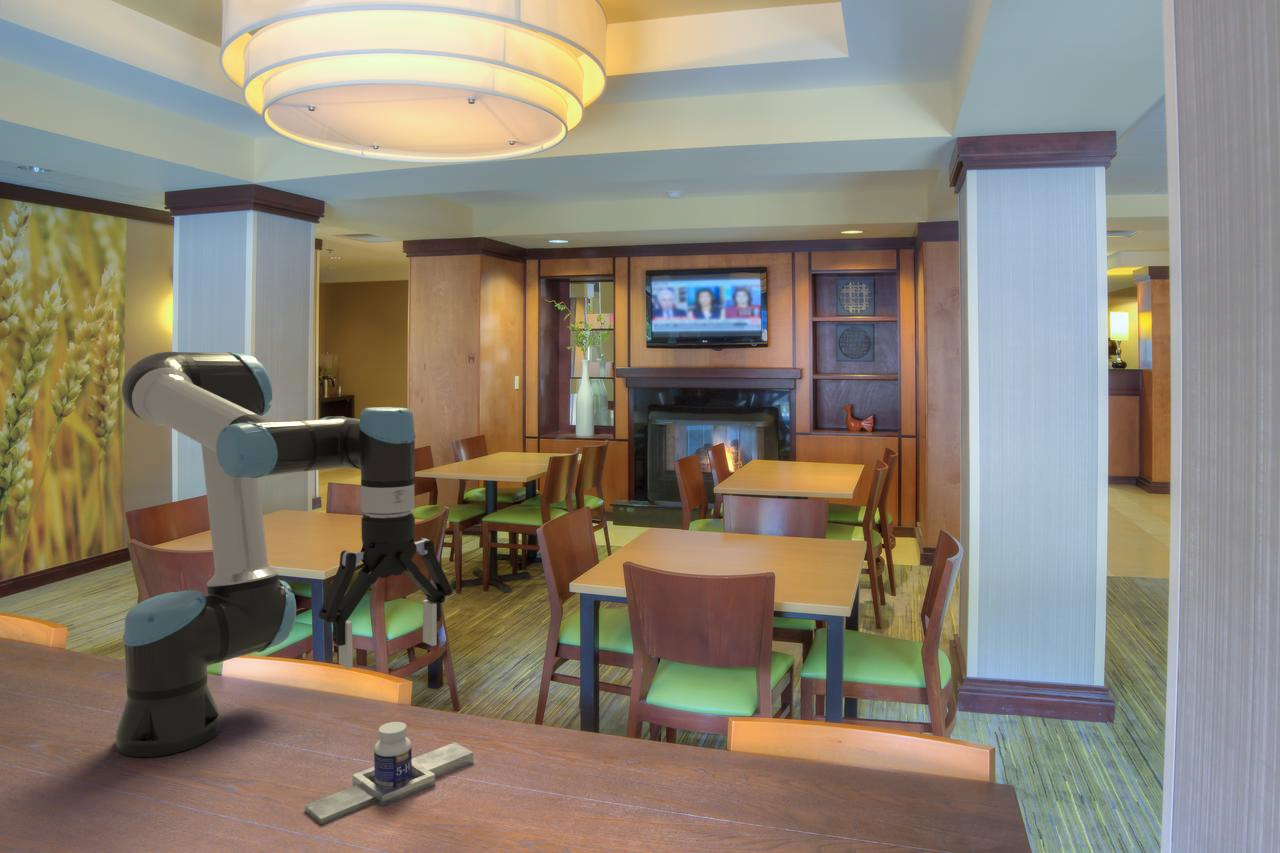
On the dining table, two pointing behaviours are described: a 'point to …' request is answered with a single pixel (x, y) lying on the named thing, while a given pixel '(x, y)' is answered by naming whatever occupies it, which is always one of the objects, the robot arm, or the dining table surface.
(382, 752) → the pill bottle
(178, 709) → the robot arm
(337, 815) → the square frame bracket
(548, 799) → the dining table surface
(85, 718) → the dining table surface
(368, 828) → the dining table surface
